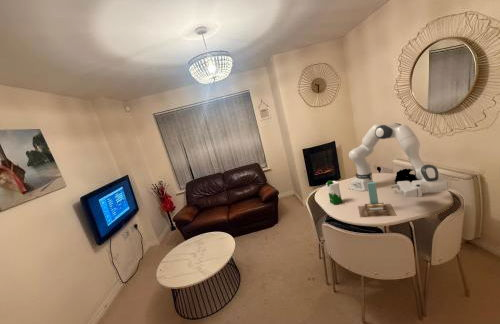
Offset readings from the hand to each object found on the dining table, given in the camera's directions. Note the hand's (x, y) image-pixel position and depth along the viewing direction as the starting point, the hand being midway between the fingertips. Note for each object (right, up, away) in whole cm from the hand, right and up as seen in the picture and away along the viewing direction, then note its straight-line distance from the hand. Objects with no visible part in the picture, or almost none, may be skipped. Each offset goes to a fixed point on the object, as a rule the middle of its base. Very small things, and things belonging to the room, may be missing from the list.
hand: (392, 189), depth 152 cm
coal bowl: (+28, -5, +20) cm, 35 cm away
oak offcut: (-9, -16, +4) cm, 19 cm away
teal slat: (-8, -15, +8) cm, 19 cm away
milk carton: (-25, -16, +35) cm, 46 cm away
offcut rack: (-9, -17, +5) cm, 20 cm away
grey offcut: (-11, -17, 0) cm, 20 cm away
